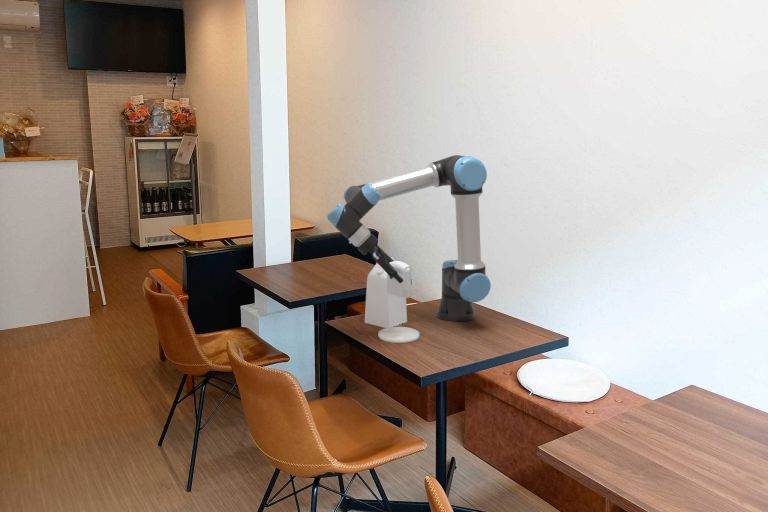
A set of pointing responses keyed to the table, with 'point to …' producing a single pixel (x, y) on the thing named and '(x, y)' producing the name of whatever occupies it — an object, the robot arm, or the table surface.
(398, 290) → the photo printer
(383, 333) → the white plate
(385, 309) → the milk
